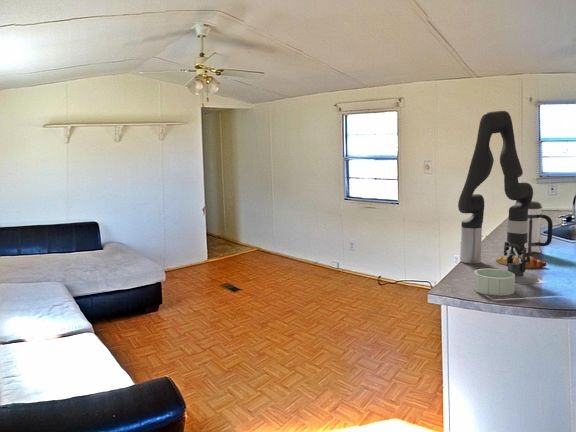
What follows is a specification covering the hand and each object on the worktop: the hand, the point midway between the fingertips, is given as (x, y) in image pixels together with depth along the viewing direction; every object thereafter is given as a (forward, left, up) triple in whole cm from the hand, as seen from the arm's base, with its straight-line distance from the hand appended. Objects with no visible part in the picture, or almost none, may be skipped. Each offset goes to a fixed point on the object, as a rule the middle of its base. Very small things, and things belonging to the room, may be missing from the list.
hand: (515, 269), depth 180 cm
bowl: (+13, -17, -4) cm, 22 cm away
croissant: (-20, +15, -5) cm, 25 cm away
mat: (0, 0, -4) cm, 4 cm away
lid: (0, 0, -4) cm, 4 cm away
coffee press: (-44, +35, -5) cm, 57 cm away
